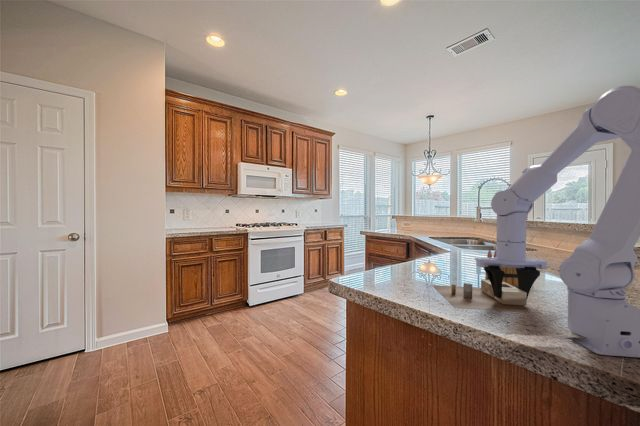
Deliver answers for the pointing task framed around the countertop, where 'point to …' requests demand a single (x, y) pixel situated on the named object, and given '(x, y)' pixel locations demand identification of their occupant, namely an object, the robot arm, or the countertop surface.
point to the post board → (476, 299)
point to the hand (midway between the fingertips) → (510, 297)
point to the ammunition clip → (506, 273)
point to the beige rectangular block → (506, 293)
